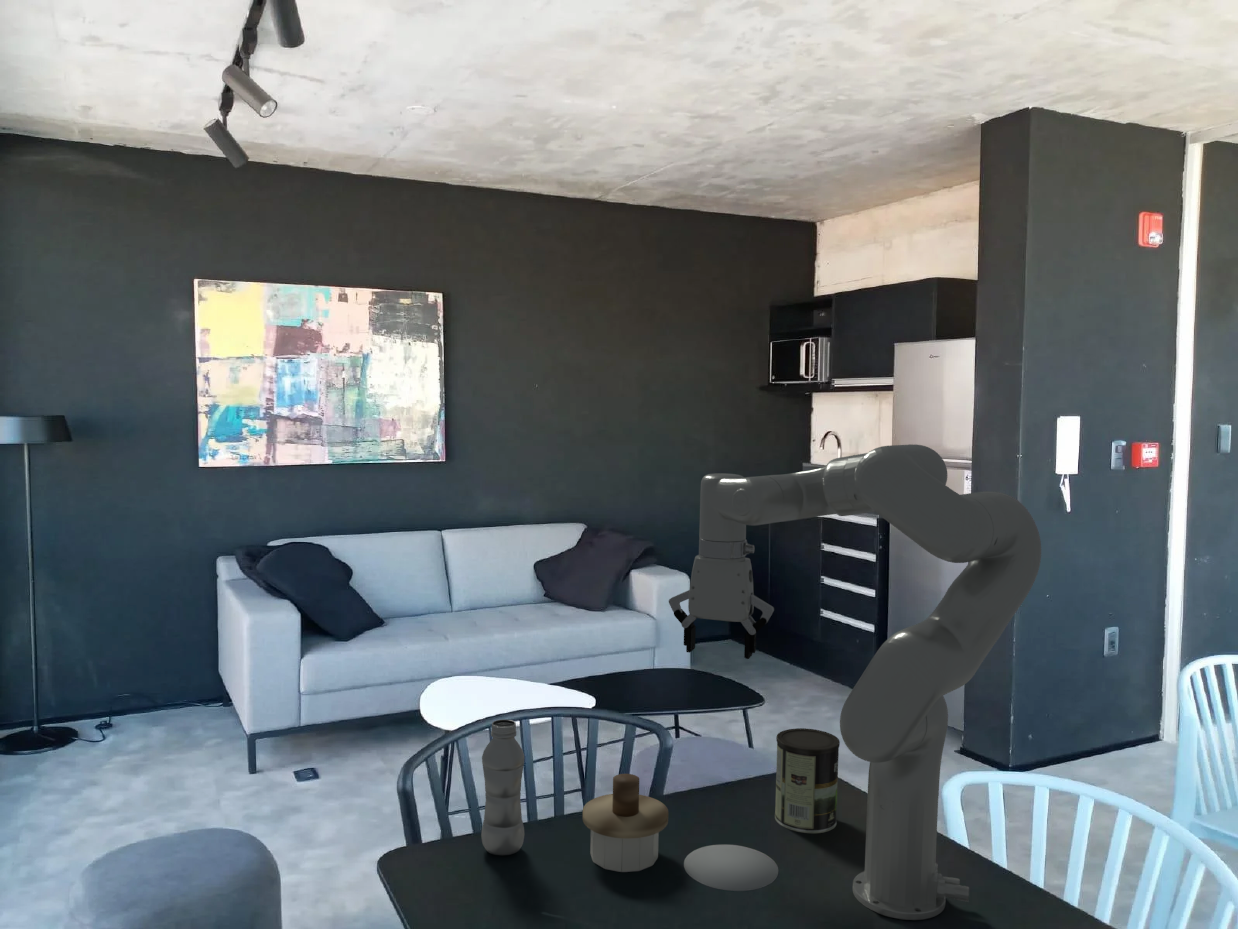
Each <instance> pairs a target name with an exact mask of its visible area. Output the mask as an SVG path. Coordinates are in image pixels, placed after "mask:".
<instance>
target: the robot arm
mask: <svg viewBox="0 0 1238 929" xmlns="http://www.w3.org/2000/svg"><path fill="white" fill-rule="evenodd" d="M947 482H948V468H947V465H946V463H945V461H944V458H943V457H942V456H941V455H940V454H939V453H938V451H936V450H934V449H932V448H930V447H928V446H926V445H921V444H913V443H912V444H896V445H895V444H894V445H892V444H891V445H882V446H879V447H876V448H874V449H871V450H869V451H868V452H865V453H860V454H854V455H847V456H841V457H837V458H833V459H831V460H829V461H828V463H826V465H825V466H824V467H820V468H815V469H809V470H803V471H799V472H792V473H791V472H790V473H785V474H770V475H768V474H767V475H760V476H747V477H744V476H743V475H741V474H737V473H736V474H735V473H724V472H723V473H721V472H720V473H718V472H717V473H715V472H713V473H708V474H705V475H704V476H703V477H702V479H701V481H700V493H699V494H700V495H699V496H700V498H699V502H700V503H699V530H698V531H699V532H698V533H699V534H698V535H699V540H698V554H697V555H695V557H694V560H693V566H692V569H691V577H690V584H689V589H688V590H686V591H684V592H682V593H679V594H677V595H674V596H672V597H671V598H669V599H668V604H669V607H670V608H671V610H672V612H673V616H674V617H675V618H676V619H677V620H678V622H679V623H680V624H681V627H682V628H683V646H686V647H685V649H686V653H691V652H693V651H694V649H696V631H697V630H696V628H697V627H696V624H694V622H695V621H696V620H697V619H702V620H703V619H705V620H713V621H723V622H733V623H736V622H737V623H741V624H742V626H743V627H744V629H745V630H746V633H745V635H744V652H743V654H744V656H743V657H744V658H745V659H746V660H748V659H750V658H751V657H752V656H753V654H756V650H757V633H758V632H759V631H760V630H761V629H762V628H764V626H765V625H766V624H767V623H768V622H769V620H770V618H771V616H772V615H773V613H774V611H775V607H774V606H772V605H771V604H769V603H767V602H766V601H764V600H763V599H761V598H759V597H758V596H757V595H755V593H754V578H753V569H752V563H751V559H750V558H749V557H746V556H747V555H750V554H754V553H755V551H756V550H755V545H754V544H750V543H748V540H747V539H746V538H747V526H761V525H768V524H775V523H780V522H781V523H782V522H791V521H797V520H804V519H810V518H817V517H823V516H830V515H831V516H832V515H838V516H839V517H847V516H853V515H862V514H869V513H876V514H878V515H879V516H880V517H881V518H882V519H884V521H886V522H887V523H889V524H890V525H892V526H893V527H894V528H896V529H897V530H898V531H900V532H901V533H902V534H903V535H904V536H906V537H908V538H909V539H910V540H911V541H912V542H914V543H915V544H916V545H918V546H919V547H920V548H922V549H923V550H924V551H926V552H928V553H929V554H930V555H932V556H934V557H936V558H938V559H940V560H942V561H945V562H948V563H949V562H950V563H953V564H964V563H968V564H967V565H966V566H965V567H964V569H963V570H962V571H961V572H960V573H959V574H958V575H957V576H956V578H955V579H954V580H953V581H952V583H951V584H950V586H949V587H948V588H947V590H946V592H945V593H944V595H943V597H942V598H941V600H940V601H939V603H938V604H937V606H936V607H935V608H934V610H933V611H932V612H931V613H930V615H929V616H928V617H927V618H926V619H924V620H922V621H920V622H918V623H915V624H913V625H909V626H908V627H905V628H902V629H901V630H898V631H896V632H895V633H893V634H891V635H890V636H889V637H888V638H887V639H885V641H884V642H883V643H882V644H881V645H880V647H879V648H878V650H876V653H875V654H874V655H873V657H872V658H871V659H870V661H869V663H868V665H867V666H866V668H865V670H864V671H863V673H862V674H861V676H860V678H859V679H858V680H857V682H856V683H855V685H854V687H853V688H852V689H851V691H850V693H849V695H848V696H847V698H846V699H845V701H844V703H843V705H842V709H841V710H840V711H841V712H840V718H839V731H840V734H841V737H842V738H841V739H842V740H843V742H844V745H845V746H846V748H847V749H848V750H849V751H850V753H852V754H853V755H854V756H856V757H857V758H858V759H860V760H862V761H866V762H869V768H868V777H867V780H868V781H867V796H866V797H867V800H866V801H867V803H866V823H865V824H866V825H865V826H866V827H865V828H866V829H865V853H864V870H863V871H861V872H860V873H858V874H857V875H856V876H855V877H854V879H853V880H852V893H853V896H854V897H855V899H856V900H857V901H858V902H859V903H860V904H861V905H863V906H864V907H865V908H868V909H869V910H870V911H873V912H875V913H877V914H879V915H882V916H885V917H888V918H894V919H896V920H897V919H899V920H904V921H905V920H906V921H922V920H927V919H932V918H934V917H936V916H938V915H939V914H941V913H942V912H944V910H945V907H946V898H949V899H950V898H951V899H954V900H957V901H962V902H966V903H967V902H968V903H969V902H970V901H969V900H970V899H969V898H970V886H966V885H961V884H960V878H957V877H951V876H950V877H948V876H943V873H938V869H939V867H938V866H939V864H938V863H937V862H936V859H937V857H936V856H937V838H938V815H939V814H938V813H939V795H940V794H939V793H940V777H941V767H942V766H941V765H942V757H943V751H944V748H945V742H946V738H947V731H948V726H949V724H948V723H949V711H948V710H949V709H948V705H947V702H946V699H945V697H944V696H945V695H947V694H949V693H951V692H953V691H955V690H957V689H960V688H961V687H963V686H965V685H966V684H967V683H968V682H970V680H972V679H973V677H974V676H975V675H976V672H977V671H978V670H979V668H980V667H981V665H982V663H983V662H984V660H985V659H986V658H987V656H988V654H989V653H990V651H991V650H992V649H993V647H994V645H996V643H997V641H998V640H999V639H1000V637H1001V636H1002V634H1003V633H1004V631H1005V629H1006V627H1007V626H1008V625H1009V622H1011V620H1012V619H1013V617H1014V615H1015V614H1016V612H1017V611H1018V610H1019V608H1020V607H1021V606H1022V604H1023V603H1024V601H1025V600H1026V598H1027V597H1028V595H1029V593H1030V591H1031V589H1032V587H1033V586H1034V584H1035V581H1036V579H1037V576H1038V574H1039V569H1040V566H1041V559H1042V543H1041V542H1042V541H1041V537H1040V533H1039V529H1038V526H1037V524H1036V521H1035V520H1034V518H1033V516H1032V514H1031V513H1030V511H1029V510H1028V509H1027V508H1026V506H1025V505H1023V503H1021V501H1020V500H1017V498H1015V497H1013V496H1011V495H1010V494H1009V495H1008V494H1006V493H1003V492H998V491H987V490H986V491H977V492H970V493H965V494H963V493H962V494H960V493H958V492H956V491H955V490H954V489H952V488H950V487H949V486H948V485H946V484H947ZM687 600H688V613H689V614H687V613H686V612H685V611H684V610H683V609H682V607H681V603H682V602H684V601H687ZM754 607H755V608H756V609H758V610H760V611H761V612H762V614H761V616H760V618H759V619H757V621H755V619H754V618H753V616H752V615H753V614H754V610H755V609H754Z"/></svg>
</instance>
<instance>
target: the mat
mask: <svg viewBox="0 0 1238 929" xmlns="http://www.w3.org/2000/svg"><path fill="white" fill-rule="evenodd" d="M683 868H684V870H685V872H686V873H687V874H688V875H689V877H691V878H692V879H693V880H695V881H696V882H698V883H700V884H702V885H703V886H707V887H710V888H713V889H718V890H721V891H723V890H724V891H730V892H731V891H732V892H733V891H734V892H746V891H753V890H759V889H761V888H764V887H767V886H768V885H771V884H772V883H773V882H774V881H775V880H776V879H777V877H778V876H779V867H778V864H777V863H776V862H775V860H774V859H772V858H771V857H770V856H768V855H767V854H766V853H763V852H761V851H759V850H758V849H754V848H750V847H746V846H743V845H737V844H712V845H706V846H702V847H699V848H697V849H694V850H693V851H691V852H690V853H688V854H687V855H686V857H685V858H684V861H683Z"/></svg>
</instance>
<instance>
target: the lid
mask: <svg viewBox="0 0 1238 929" xmlns="http://www.w3.org/2000/svg"><path fill="white" fill-rule="evenodd" d="M582 822H583V824H584V826H585V827H586V828H587V829H589V830H590V831H591V830H592V831H594V832H596V833H598V834H601V835H604V836H608V837H614V838H641V837H646V836H650V835H653V834H656V833H658V832H659V833H660V832H662V831H663V830H664V829H665V828H666V827H667V826H668V824H669V809H668V807H667V806H666V804H664V803H663V802H661V801H660V800H658V799H656V798H653V797H650V796H647V795H644V794H643V795H642V794H640V778H639V776H638V775H636V774H632V773H619V774H615V775H614V776H613V778H612V793H608V794H605V795H600V796H598V797H595V798H593V799H591V800H588V801H587V802H586V803H585V804H584V806H583V808H582Z"/></svg>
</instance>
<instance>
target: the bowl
mask: <svg viewBox="0 0 1238 929" xmlns="http://www.w3.org/2000/svg"><path fill="white" fill-rule="evenodd" d="M659 833H660V832H658V833H656V834H653V835H650V836H646V837H641V838H614V837H608V836H604V835H601V834H598V833H596V832H594V831H592V830H590V849H589V850H590V851H589V852H590V853H589V854H590V856H591V860H592V863H593V864H596V865H598V866H599V867H600V868H603V869H605V870H609V871H614V872H620V873H628V872H630V873H631V872H640V871H642V870H645V869H648V868H650V867H652V866H653V865H654V864H655V863H656V861H657V860H658V859H659V835H660V834H659Z"/></svg>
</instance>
